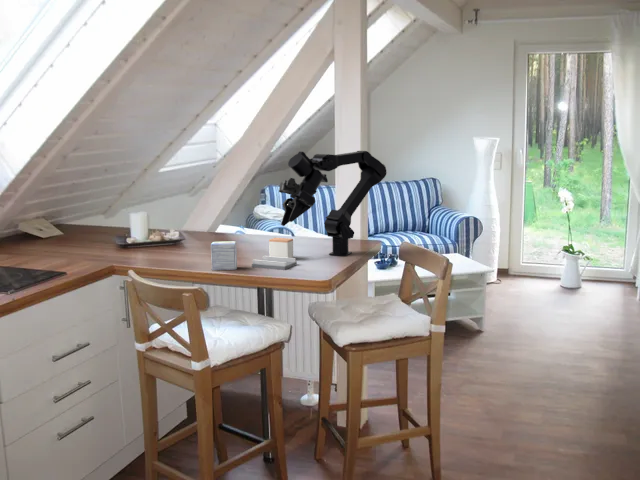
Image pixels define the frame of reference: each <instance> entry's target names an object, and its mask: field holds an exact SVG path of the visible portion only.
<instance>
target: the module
mask: <svg viewBox="0 0 640 480" xmlns="http://www.w3.org/2000/svg"><path fill="white" fill-rule="evenodd" d="M268 247H269V248H268V250H269V253H268V254H269V255H268V256H273V257H285V258H294V239H293V238H288V237H287V238H286V237H273V238H270V239H269V240H268Z"/></svg>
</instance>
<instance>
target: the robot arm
mask: <svg viewBox="0 0 640 480" xmlns="http://www.w3.org/2000/svg"><path fill="white" fill-rule="evenodd" d="M287 163H288V164H287V165H288V167H289V168H290V169H291V170H292V171H293V172H294V173H295V174H296V175H297V176H298V177H299V178H302V180H301V182H300V183H298V184H297V182H296V179H295V178H293V177H290V178H288V179H285V180H282V181H281V182H280V184H279V189H278V193H281V194H283V193H284V194H285V195H286V194H288V195H290V198H287V199H285V200H284V201H283V203H282V204H281V205H282V207H283V209H284V213H283V217H282V220H281V224H280V225H281V226H283V227H284V226H286V225H287V224H288V223H292V222H293V221H295V220H296V219H297V218H299V217H300V216H301V215H303V214H304V213H306V212H307V211H309V210H310V209H311V208H312V207H314V205H315V203H316V197H314V195H315V194H316V193H317V190H318V187H319V186H320V185H321V183H328V181H329V180H328V178H327V174H326V173H322V172H332V171H334V170H336V169H337V168H338V167H341V166H347V165H352V164H357V165H358V168H359V169H360V171H361V172H360V179H359V181H358V183H356V186H354V188H353V190H352V191H351V192H350V194H349V195H348V196H347V198H346V200H345V201H344V202H343V204H342V205H341V207H339V209H331V210H330V211H329V213H328V215H327V216H326V217H325V220H324V229H325V231H326V234H327V237H329V238H330V237H331V238H332V239H331V240H332V241H331V243H332V251H331V252H329V253H328V255H329V256H341V257H347V256H349V255H351V254H352V253H353V252H352V251H349V240H350V239H354V236H355V231H354V230H353V229H352V228H351V224H352V216H353V214H354V213H355V212H356V210H357V209H358V208H359V206H360V204H361V203H362V202H363V200H364V199H365V198H366V197H367V195H368V194H369V192H370V190H371V189H372V188H373V187H374V186H375V185H378V184H379V183H381V181H383V180H384V179H385V177H386V176H387V173H388V172H387V168H386V165H385V164H384V163H382V162H381V161H380V160H379V159H377V158H376V157H375V156H373V155H372V154H371V153H370V152H369V151H367V150H356V151H353V152H346V153H339V154H327V153H326V154H325V153H316V154H313V157H311V158H310V157H308V156H307V154H306V152H304V151H301V150H300V151H298V153H297V154H295V155H293V156H292V157H291V158H290V159H289V160H288V161H287Z"/></svg>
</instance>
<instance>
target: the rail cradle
mask: <svg viewBox="0 0 640 480" xmlns="http://www.w3.org/2000/svg"><path fill="white" fill-rule="evenodd" d="M296 260H297V258H295V257H293V258H285V257H273V256H269V255H263V256H262V259H252V263H251V267H252V268H258V267H259V269H260V268H261V269H269V268H270V270H283V271H285V270H287V269H290V268H292V267H294V266H296V265H298V263H297V262H298V261H296Z"/></svg>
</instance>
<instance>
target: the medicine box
mask: <svg viewBox="0 0 640 480" xmlns="http://www.w3.org/2000/svg"><path fill="white" fill-rule="evenodd" d="M237 249H238V248H237V241H233V240H232V241H212V243H211V244H210V255H211V256H210V257H211V260H210V261H211V271H220V270H221V271H223V270H224V271H226V270H228V271H229V270H230V271H231V270H233V271H235V270H236V271H237V269H238V254H237V251H238V250H237Z"/></svg>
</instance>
